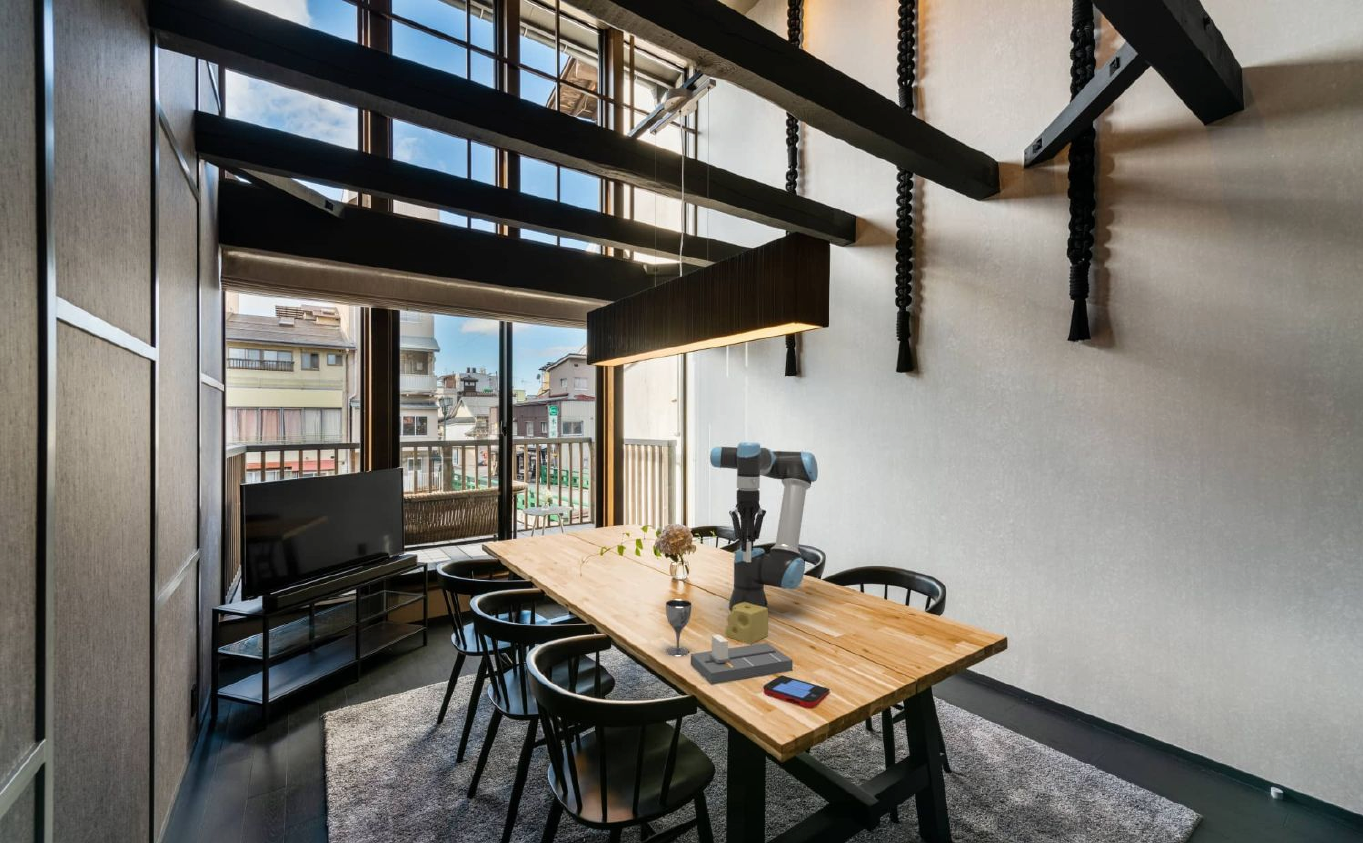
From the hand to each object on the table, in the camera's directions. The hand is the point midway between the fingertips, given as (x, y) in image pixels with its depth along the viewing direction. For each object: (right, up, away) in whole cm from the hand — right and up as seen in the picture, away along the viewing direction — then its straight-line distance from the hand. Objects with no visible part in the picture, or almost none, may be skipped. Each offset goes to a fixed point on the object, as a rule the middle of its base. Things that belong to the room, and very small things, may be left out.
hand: (747, 561), depth 183 cm
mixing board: (-4, -26, -20) cm, 33 cm away
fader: (-11, -22, -23) cm, 34 cm away
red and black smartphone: (+9, -26, -36) cm, 45 cm away
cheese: (+1, -27, +4) cm, 27 cm away
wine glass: (-23, -26, -10) cm, 36 cm away
